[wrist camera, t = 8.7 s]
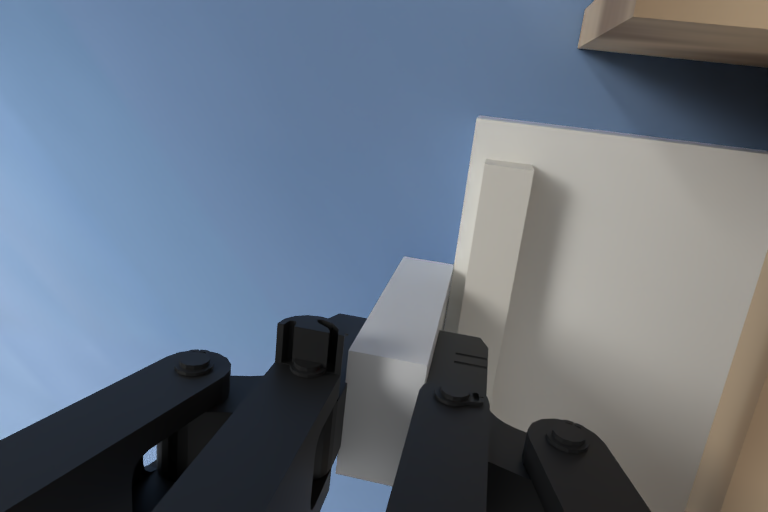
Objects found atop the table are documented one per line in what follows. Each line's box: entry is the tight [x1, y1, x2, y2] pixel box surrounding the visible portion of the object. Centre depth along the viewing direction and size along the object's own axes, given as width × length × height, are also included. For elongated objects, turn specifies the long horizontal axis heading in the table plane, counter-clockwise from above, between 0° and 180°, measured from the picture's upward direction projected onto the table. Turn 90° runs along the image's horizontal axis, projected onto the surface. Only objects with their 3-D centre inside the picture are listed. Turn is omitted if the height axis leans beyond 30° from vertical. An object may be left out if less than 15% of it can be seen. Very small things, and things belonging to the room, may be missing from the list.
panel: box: [444, 115, 768, 512], centre depth 17 cm, size 12×12×4 cm
